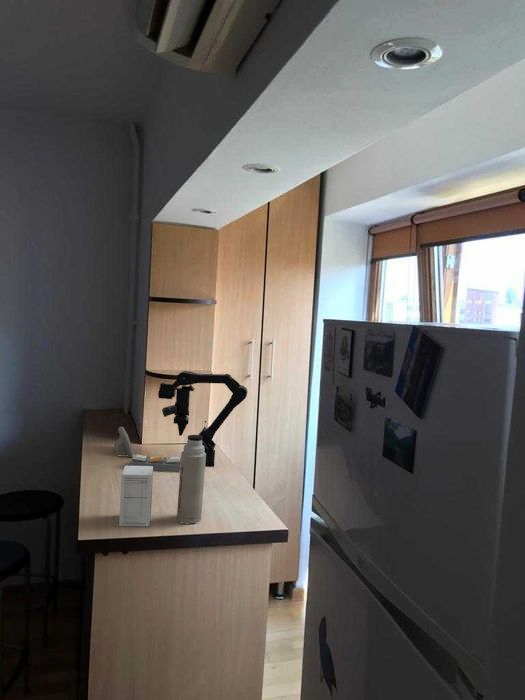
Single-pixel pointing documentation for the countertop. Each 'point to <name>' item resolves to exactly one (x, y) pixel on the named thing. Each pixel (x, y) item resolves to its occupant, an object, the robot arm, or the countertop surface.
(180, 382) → the robot arm
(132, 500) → the supplement box
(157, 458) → the block
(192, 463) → the thermos bottle
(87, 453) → the countertop surface
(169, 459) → the rocker
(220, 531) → the countertop surface
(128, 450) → the grey tapered fin
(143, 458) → the rocker
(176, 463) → the power strip
